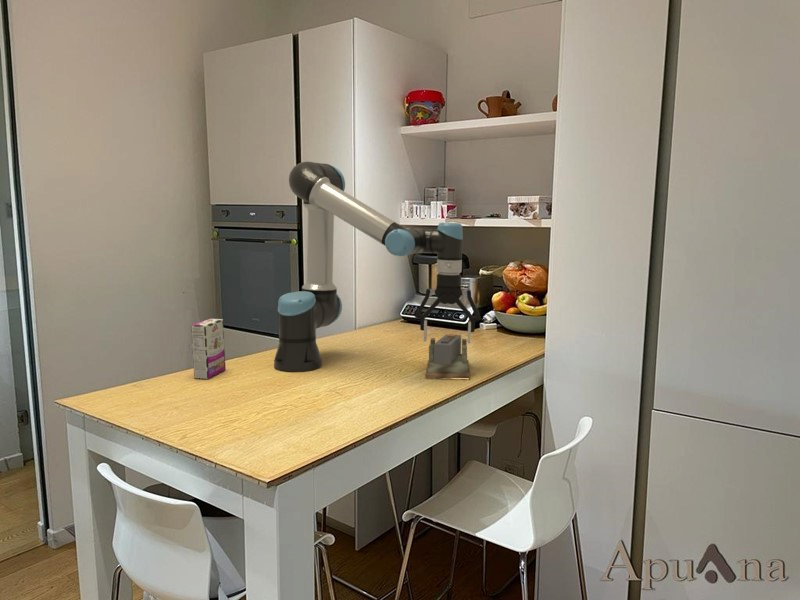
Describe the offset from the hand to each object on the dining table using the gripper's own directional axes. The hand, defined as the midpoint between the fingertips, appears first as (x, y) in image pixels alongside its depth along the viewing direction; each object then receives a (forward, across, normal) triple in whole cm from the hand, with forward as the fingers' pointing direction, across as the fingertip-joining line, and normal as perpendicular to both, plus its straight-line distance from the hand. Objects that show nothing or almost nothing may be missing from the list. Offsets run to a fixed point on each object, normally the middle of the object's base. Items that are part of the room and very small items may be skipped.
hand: (446, 341), depth 192 cm
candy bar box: (+11, -71, -12) cm, 73 cm away
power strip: (+5, 0, 0) cm, 5 cm away
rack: (+9, +1, 0) cm, 9 cm away
